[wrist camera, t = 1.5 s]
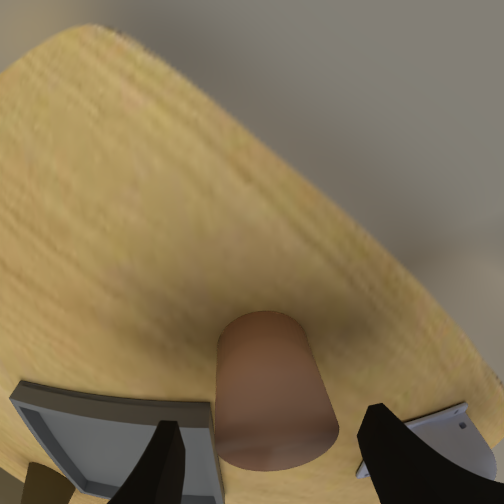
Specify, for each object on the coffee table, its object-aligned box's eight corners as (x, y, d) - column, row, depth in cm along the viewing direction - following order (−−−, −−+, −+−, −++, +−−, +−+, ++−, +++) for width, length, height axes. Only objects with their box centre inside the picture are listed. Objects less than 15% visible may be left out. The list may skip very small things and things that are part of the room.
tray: (209, 402, 16) (209, 428, 14) (224, 494, 21) (225, 511, 19) (20, 380, 15) (9, 398, 13) (85, 477, 20) (81, 492, 18)
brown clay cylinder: (310, 308, 14) (350, 396, 9) (302, 377, 16) (327, 463, 10) (214, 312, 14) (208, 408, 9) (220, 382, 16) (219, 473, 10)
